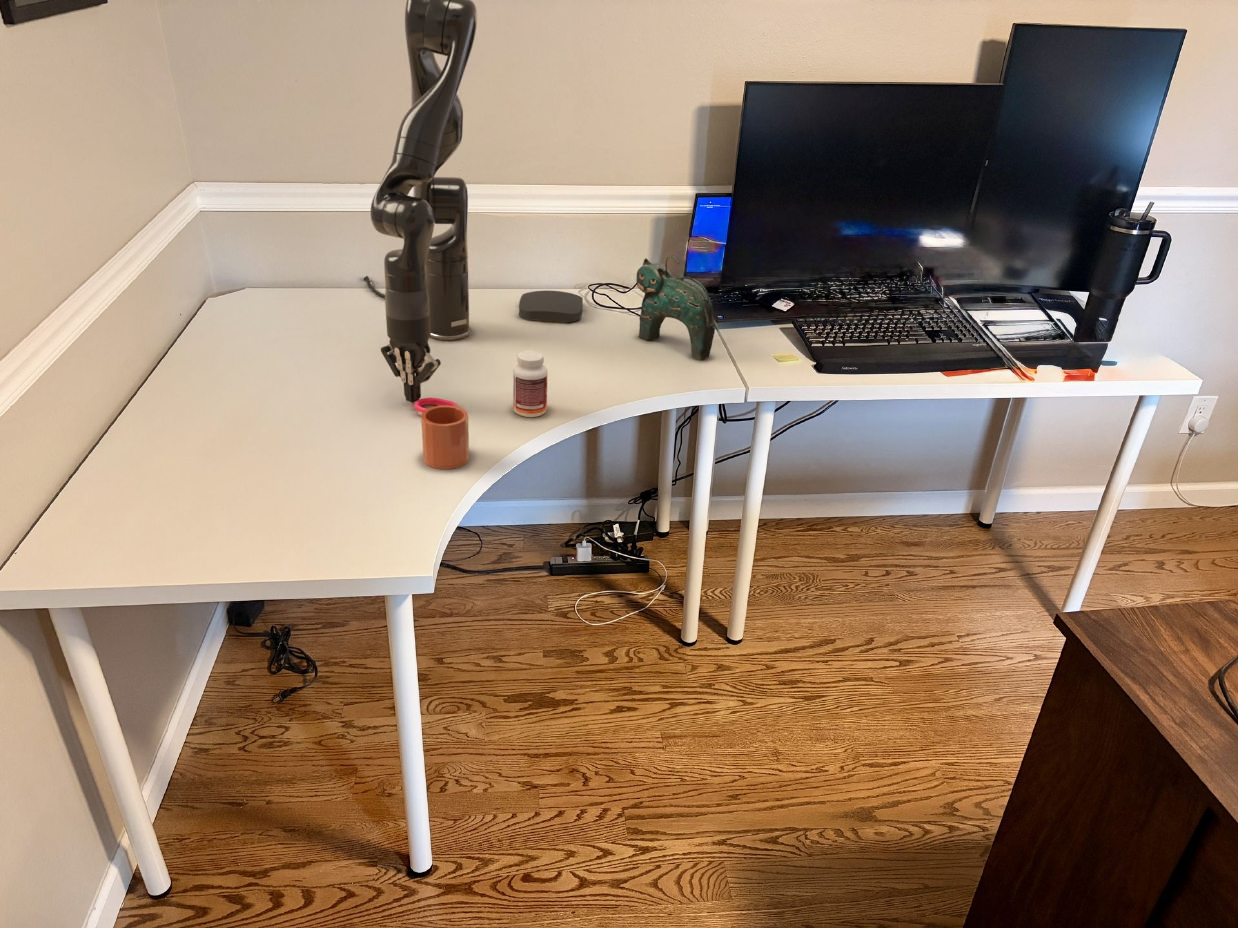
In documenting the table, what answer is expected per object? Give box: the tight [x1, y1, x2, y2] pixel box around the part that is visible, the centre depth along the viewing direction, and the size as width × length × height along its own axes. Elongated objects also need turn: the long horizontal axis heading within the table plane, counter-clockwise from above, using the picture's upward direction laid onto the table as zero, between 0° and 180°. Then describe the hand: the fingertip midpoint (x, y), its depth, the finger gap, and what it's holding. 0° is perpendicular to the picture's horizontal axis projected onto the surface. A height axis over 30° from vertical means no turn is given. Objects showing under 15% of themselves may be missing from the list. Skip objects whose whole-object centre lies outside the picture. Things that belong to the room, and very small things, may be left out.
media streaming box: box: [518, 290, 584, 323], centre depth 213 cm, size 15×15×3 cm
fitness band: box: [414, 397, 459, 417], centre depth 165 cm, size 8×6×2 cm
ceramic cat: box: [636, 254, 716, 361], centre depth 195 cm, size 20×6×20 cm, turn 47°
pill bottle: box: [512, 350, 548, 418], centre depth 165 cm, size 6×6×11 cm
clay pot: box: [420, 405, 470, 470], centre depth 148 cm, size 7×7×8 cm
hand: (412, 400), depth 167 cm, fingers closed
